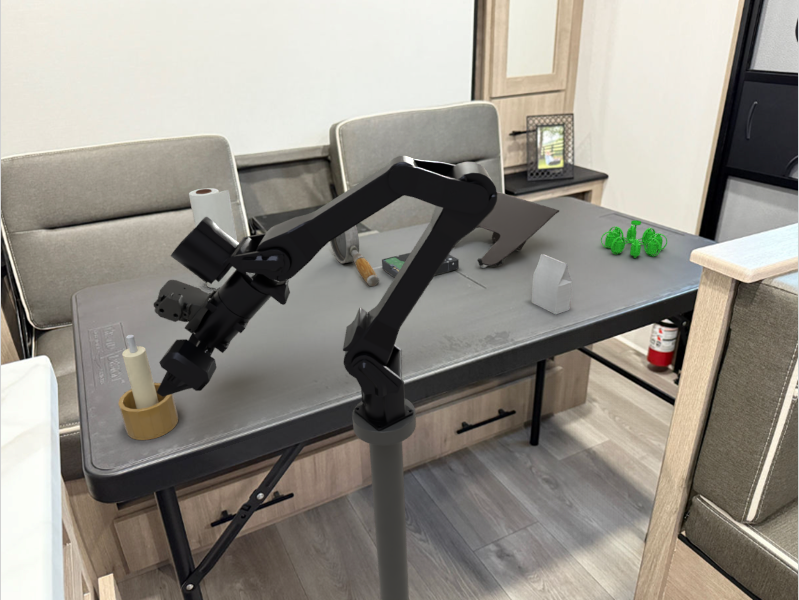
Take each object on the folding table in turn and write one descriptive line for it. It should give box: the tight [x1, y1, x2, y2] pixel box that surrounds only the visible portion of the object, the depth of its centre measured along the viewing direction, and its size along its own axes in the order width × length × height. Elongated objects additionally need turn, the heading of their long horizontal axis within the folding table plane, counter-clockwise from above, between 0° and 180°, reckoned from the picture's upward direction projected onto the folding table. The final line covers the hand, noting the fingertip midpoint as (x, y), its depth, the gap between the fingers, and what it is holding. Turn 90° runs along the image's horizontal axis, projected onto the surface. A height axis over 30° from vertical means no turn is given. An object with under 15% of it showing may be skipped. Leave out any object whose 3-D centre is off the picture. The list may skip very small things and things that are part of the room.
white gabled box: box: [531, 253, 573, 315], centre depth 118 cm, size 4×7×10 cm, turn 31°
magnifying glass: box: [329, 225, 380, 287], centre depth 139 cm, size 13×3×25 cm
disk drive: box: [381, 252, 460, 278], centre depth 139 cm, size 10×3×15 cm
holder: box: [117, 382, 179, 441], centre depth 88 cm, size 7×7×5 cm
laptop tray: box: [475, 191, 560, 269], centre depth 148 cm, size 23×23×9 cm
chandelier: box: [600, 220, 668, 259], centre depth 144 cm, size 15×15×7 cm
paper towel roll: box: [188, 187, 238, 289], centre depth 131 cm, size 7×6×21 cm
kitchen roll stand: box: [121, 334, 159, 409], centre depth 86 cm, size 4×4×14 cm
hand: (171, 375), depth 85 cm, fingers open, 9 cm apart
